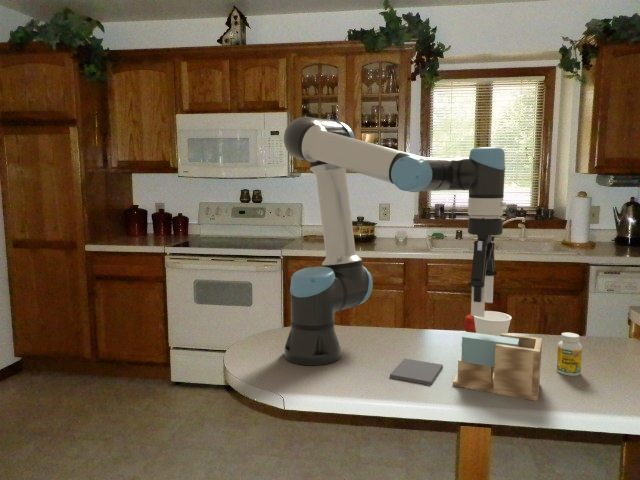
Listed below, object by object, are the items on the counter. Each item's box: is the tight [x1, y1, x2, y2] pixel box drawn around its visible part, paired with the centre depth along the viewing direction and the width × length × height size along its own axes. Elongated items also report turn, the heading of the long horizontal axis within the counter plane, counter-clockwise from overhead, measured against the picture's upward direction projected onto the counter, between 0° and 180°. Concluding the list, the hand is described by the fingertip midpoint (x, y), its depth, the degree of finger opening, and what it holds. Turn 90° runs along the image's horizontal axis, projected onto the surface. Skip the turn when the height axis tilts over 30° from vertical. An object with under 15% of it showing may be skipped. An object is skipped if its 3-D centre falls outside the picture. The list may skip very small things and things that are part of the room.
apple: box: [464, 313, 476, 333], centre depth 148 cm, size 6×6×8 cm
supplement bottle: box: [556, 332, 583, 377], centre depth 123 cm, size 5×5×10 cm
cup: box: [474, 310, 512, 336], centre depth 135 cm, size 10×10×11 cm
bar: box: [460, 331, 519, 368], centre depth 116 cm, size 12×4×6 cm, turn 64°
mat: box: [389, 357, 444, 386], centre depth 123 cm, size 10×12×1 cm
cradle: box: [452, 333, 543, 402], centre depth 115 cm, size 18×10×11 cm, turn 64°
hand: (482, 308), depth 115 cm, fingers open, 13 cm apart
